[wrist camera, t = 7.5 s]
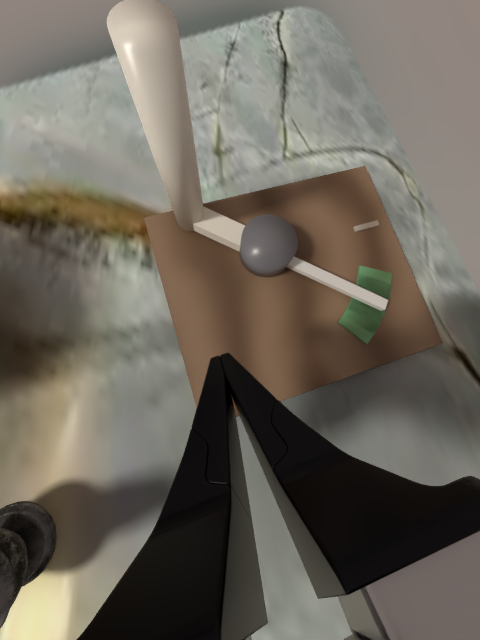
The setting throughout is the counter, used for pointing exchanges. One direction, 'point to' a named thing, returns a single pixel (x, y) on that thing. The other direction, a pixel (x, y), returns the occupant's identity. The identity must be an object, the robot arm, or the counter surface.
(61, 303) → the counter surface
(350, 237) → the dial plate
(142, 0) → the crank handle
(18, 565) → the salt shaker
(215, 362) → the robot arm
